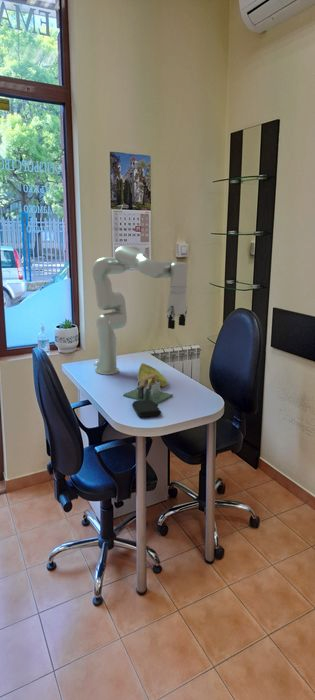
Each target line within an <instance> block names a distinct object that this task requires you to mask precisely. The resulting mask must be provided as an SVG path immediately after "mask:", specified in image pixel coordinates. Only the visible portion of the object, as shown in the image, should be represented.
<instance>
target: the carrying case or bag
mask: <svg viewBox="0 0 315 700" xmlns="http://www.w3.org/2000/svg"><path fill="white" fill-rule="evenodd" d="M131 405H132V408H133V409H134V411H135V412H136V415H138V417H139V418H141V419H146V418H158V417H159V416H161V414H162V411H161V410H160V408H159V404H156V403H155V402H153V401H152V400H141V401H140V400H134V401H133V402H132V404H131Z"/></svg>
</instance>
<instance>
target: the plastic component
mask: <svg viewBox="0 0 315 700" xmlns="http://www.w3.org/2000/svg"><path fill="white" fill-rule="evenodd" d="M152 373H153V374H157V376H156V380H159V382H160V387H163V388H165V387H166V386H167V384H168V382H169V380H167V379H166V378H165V377H164V375H163V374H162V373H161V372H160V371H158V369H156V368H155V367H153V366H151V365H149V364H146V363H142V362H141V364H140V367H139V370H138V373H137V374H138V375H137V379H138V381H140V378H142V377H145V376H147V375H150V374H152ZM151 383H152V378H151V379H148V384H151Z"/></svg>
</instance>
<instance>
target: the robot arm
mask: <svg viewBox="0 0 315 700" xmlns="http://www.w3.org/2000/svg"><path fill="white" fill-rule="evenodd" d="M148 256H149V255H148V254H147V253H146V252H145V251H142V250H141V249H140V248H139V247H137V246H135V245H121V246H119V247H117V248H116V249H115V250H114V255H113V256H111V257H110V256H105V257H101V258H98V259H97V260H95V261H94V263H93V265H92V270H91V272H92V278H93V282H94V288H95V297H96V303H97V307H98V309H99V310H100V311H108V312H104V313H102V314H100V315H98V317H97V318H96V328H97V333H98V334H97V335H98V336H97V337H98V339H97V340H98V343H97V345H98V361H97V360H96V361H94V363H93V366H96V368H95V372H96V373H97V374H100V375H106V376H108V375H115V374H119V372H120V368H119V367H117V346H118V344H117V342H118V341H117V336H116V333H115V331H116V330H117V331H118V330H120V329H123V328H125V327H126V325H127V323H128V322H127V319H128V318H127V308H126V307H127V306H126V301H125V296H124V295H123V293H122V292H121V291H120V290H113V286H112V285H113V284H112V281H111V279H110V277H109V276H108V275H119V274H122V273H125V272H127V271H128V270H130V269H131V268H133V269H136V270H137V271H138V272H140V273H141V274H143V275H144V276H149V277H151V278H153V279H163V278H164V279H165V278H166V279H167V278H170V280H169V283H170V285H169V294H168V298H167V299H168V300H167V309H166V318H167V320H168V321H167V328H168V329H170V330H174V329H175V327H176V325H175V324H176V321H175V319H176V317H177V316H178V326H183V327H185V325H186V317H187V311H188V306H187V289H188V288H187V287H188V283H187V282H188V264H187V263H186V262H181V261H180V262H177V261H176V262H175V261H171V260H158V261H157V260H153V259H150V258H149V257H148ZM109 310H110V311H111V312H109Z"/></svg>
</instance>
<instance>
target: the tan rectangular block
mask: <svg viewBox="0 0 315 700" xmlns="http://www.w3.org/2000/svg"><path fill="white" fill-rule="evenodd" d="M156 376H157V374H153V373H152V374H150V375H147V376H145V377H142V378H140V380H141V387H144V388H145V381H146V380H148V379H151V378H152V383H154V382H156Z"/></svg>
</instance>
